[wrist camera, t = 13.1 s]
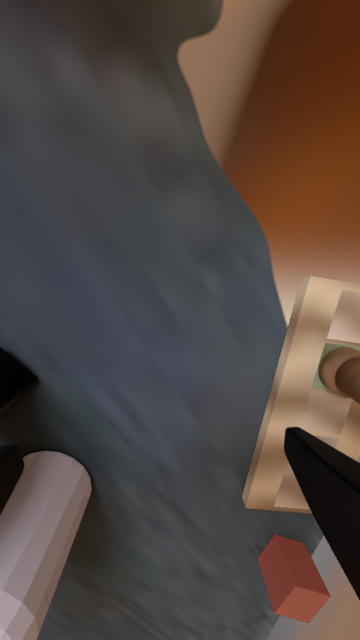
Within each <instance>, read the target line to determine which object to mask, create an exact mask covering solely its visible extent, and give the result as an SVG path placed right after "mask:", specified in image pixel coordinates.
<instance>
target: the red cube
mask: <svg viewBox="0 0 360 640" xmlns="http://www.w3.org/2000/svg"><path fill="white" fill-rule="evenodd" d="M258 562H259V565H260V568H261V572H262V575H263V578H264V581H265V585H266V588H267V591H268V595H269V598H270V601H271V604H272V608H273V611H274V614H278V615H281V616H285V617H289V618H292V619H296V620H300V621H303V622H307V623H309V622H310V620H311V619H312V618H313V617H314V616H315V614H316V613H317V612H318V611H319V610H320V609H321V607H322V606H323V605H324V604H325V603H326V601H327V600H328V599H329V598H330V594H329V592H328V590H327V588H326V586H325V584H324V582H323V580H322V578H321V576H320V574H319V572H318V570H317V568H316V566H315V564H314V562H313V560H312V558H311V556H310V554H309V552H308V550H307V548H306V546H305V544H304V543H301V542H298V541H295V540H292V539H289V538H285V537H282V536H279V535H276V534H275V535H274V536H273V537H272V539H271V540H270V542H269V543H268V545H267V546H266V547H265V549H264V550H263V552H262V553H261V554H260V556H259V557H258Z"/></svg>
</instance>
